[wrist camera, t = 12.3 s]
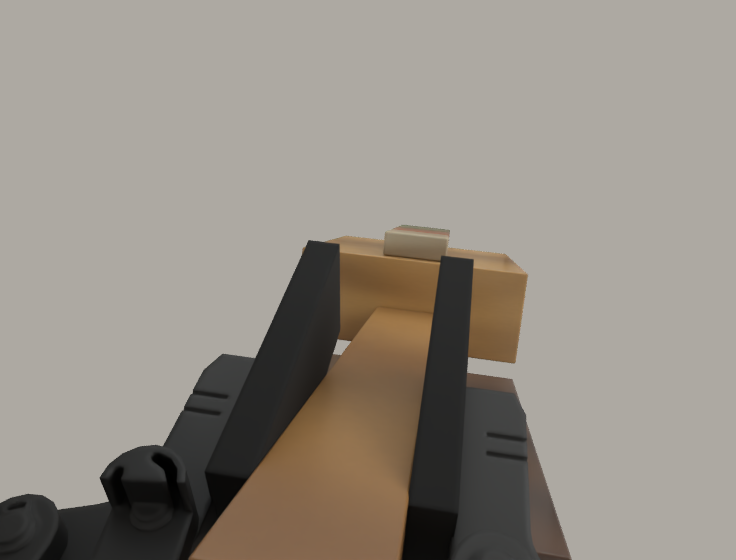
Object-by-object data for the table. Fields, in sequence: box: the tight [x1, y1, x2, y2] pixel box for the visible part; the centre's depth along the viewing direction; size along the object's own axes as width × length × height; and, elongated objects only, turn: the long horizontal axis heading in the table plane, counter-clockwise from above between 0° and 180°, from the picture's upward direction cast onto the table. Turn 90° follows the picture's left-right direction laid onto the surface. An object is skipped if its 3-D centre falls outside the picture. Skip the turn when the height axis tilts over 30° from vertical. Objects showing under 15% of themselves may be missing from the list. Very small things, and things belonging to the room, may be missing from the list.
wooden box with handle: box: [188, 225, 528, 560], centre depth 21 cm, size 28×9×5 cm, turn 172°
